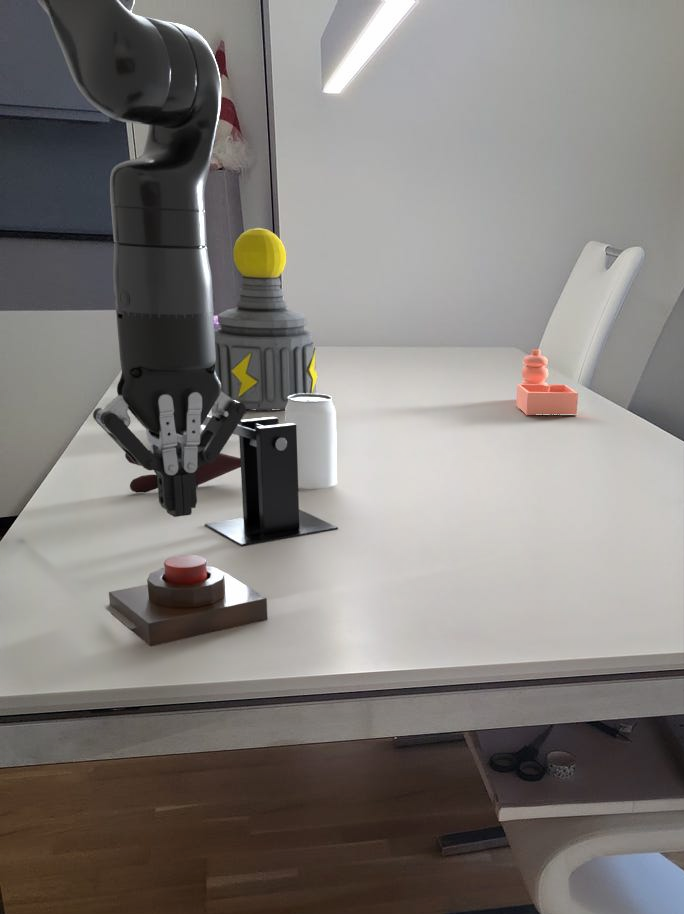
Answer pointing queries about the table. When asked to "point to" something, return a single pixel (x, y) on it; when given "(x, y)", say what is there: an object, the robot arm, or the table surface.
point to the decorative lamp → (263, 332)
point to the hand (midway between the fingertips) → (178, 513)
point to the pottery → (543, 390)
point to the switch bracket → (269, 488)
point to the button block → (188, 606)
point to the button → (185, 569)
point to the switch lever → (242, 431)
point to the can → (314, 439)
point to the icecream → (203, 474)
